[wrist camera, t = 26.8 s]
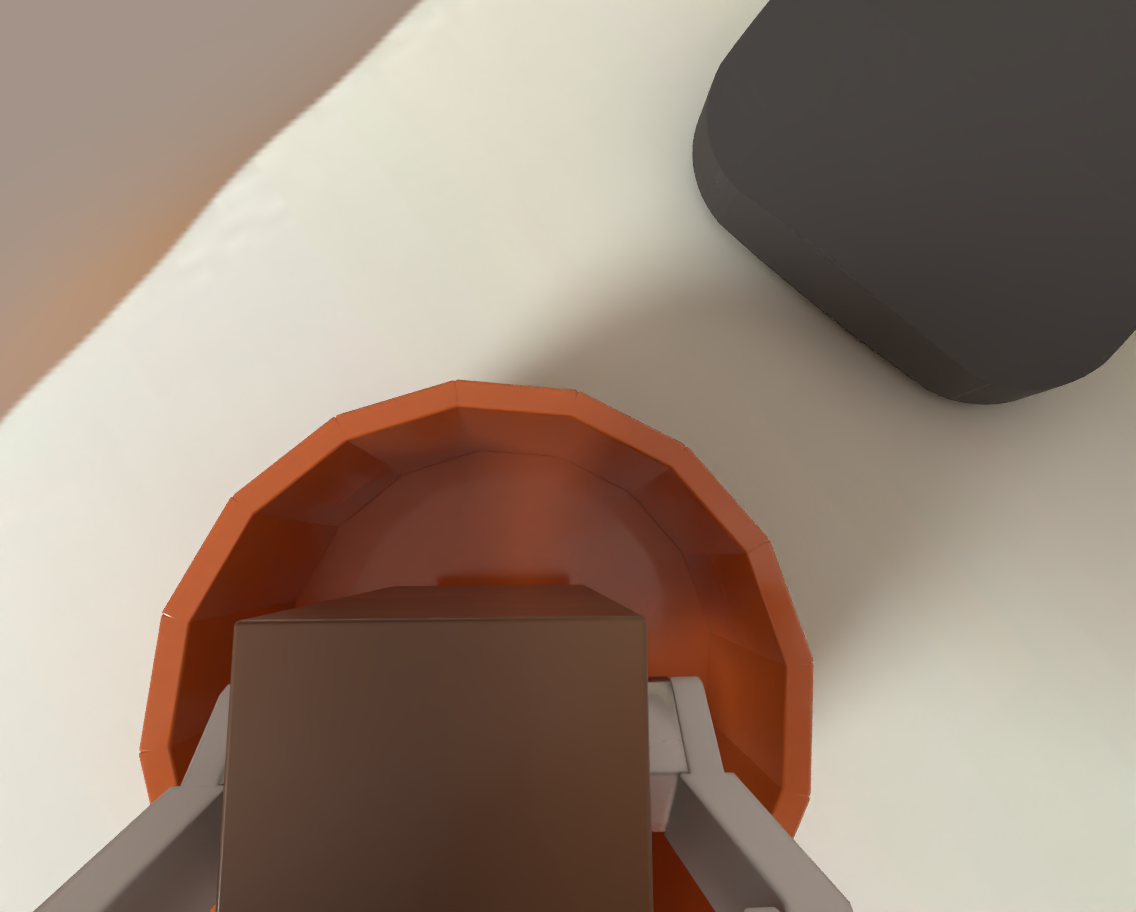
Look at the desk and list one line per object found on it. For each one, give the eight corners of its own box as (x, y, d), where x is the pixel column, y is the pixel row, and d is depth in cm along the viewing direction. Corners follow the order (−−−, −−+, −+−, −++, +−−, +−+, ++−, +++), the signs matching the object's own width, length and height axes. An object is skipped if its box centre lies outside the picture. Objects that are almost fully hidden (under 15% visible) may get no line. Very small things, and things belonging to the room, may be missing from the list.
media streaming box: (641, 175, 22) (658, 116, 19) (892, -105, 24) (942, -196, 21) (995, 457, 21) (1069, 441, 18) (1223, 142, 23) (1323, 82, 20)
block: (585, 584, 16) (647, 615, 8) (587, 788, 15) (658, 1071, 7) (390, 586, 16) (231, 620, 7) (383, 793, 15) (200, 1093, 7)
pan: (640, 383, 21) (687, 309, 15) (786, 804, 19) (910, 927, 13) (224, 512, 20) (76, 492, 13) (343, 972, 18) (238, 1197, 12)
